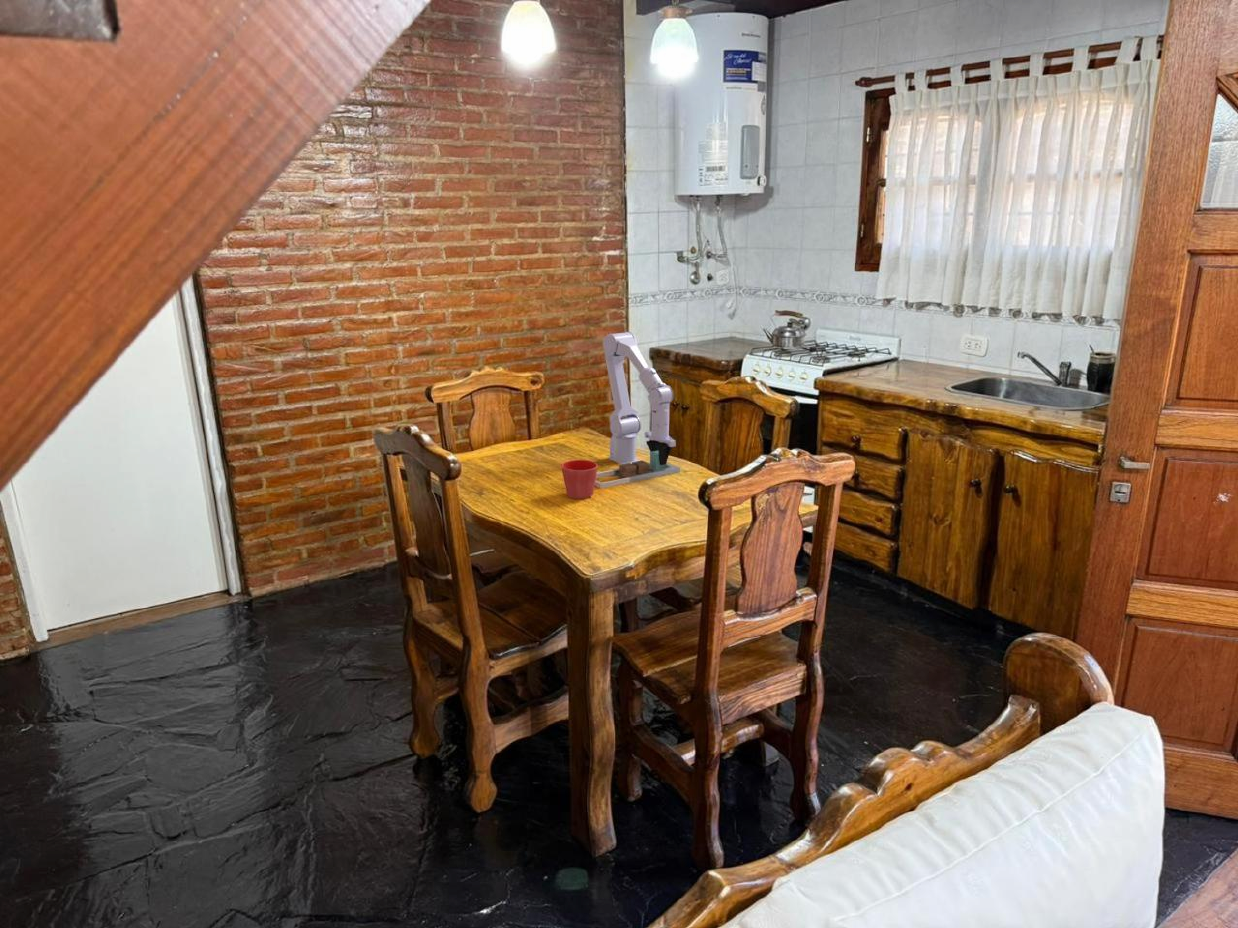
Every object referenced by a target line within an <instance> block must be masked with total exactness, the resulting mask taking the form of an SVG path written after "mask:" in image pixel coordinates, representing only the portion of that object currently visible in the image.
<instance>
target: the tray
mask: <svg viewBox="0 0 1238 928" xmlns="http://www.w3.org/2000/svg"><path fill="white" fill-rule="evenodd" d="M611 476H615V475H614V470H613V469H612V470H607V471H601V472H597V474H596V479H600V478H605V477H611ZM624 484H631V482H630V478H629V477H628V478H623V479H621V478H619V479H614V480H609V481H604V482H600V481H598V480H595V485H594V487H596V488H599V489H606V488H610V487H614V486H620V485H624Z"/></svg>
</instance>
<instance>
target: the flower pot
mask: <svg viewBox="0 0 1238 928" xmlns="http://www.w3.org/2000/svg"><path fill="white" fill-rule="evenodd" d="M598 467H599V466H598V463H596V462H594V461H592V460H587V459H574V460H573V459H572V460H569V461H568V460H567V461H565V462H564V463H562V464H561V473H562V477H563V481H564V486H565V490H566V494H567V497H568V498H570V499H573V500H586V499H589V498H591V497H592V496H593V494H594V489H595V480H596V479H597V478H596V474H597V473H598ZM596 481H597V480H596Z"/></svg>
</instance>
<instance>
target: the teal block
mask: <svg viewBox="0 0 1238 928" xmlns="http://www.w3.org/2000/svg"><path fill="white" fill-rule="evenodd" d="M649 463H650V466H649V472H651V471H656V470H661V469H665V465H660V462H659V452H658V451H653V452H650V451H649Z"/></svg>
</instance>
